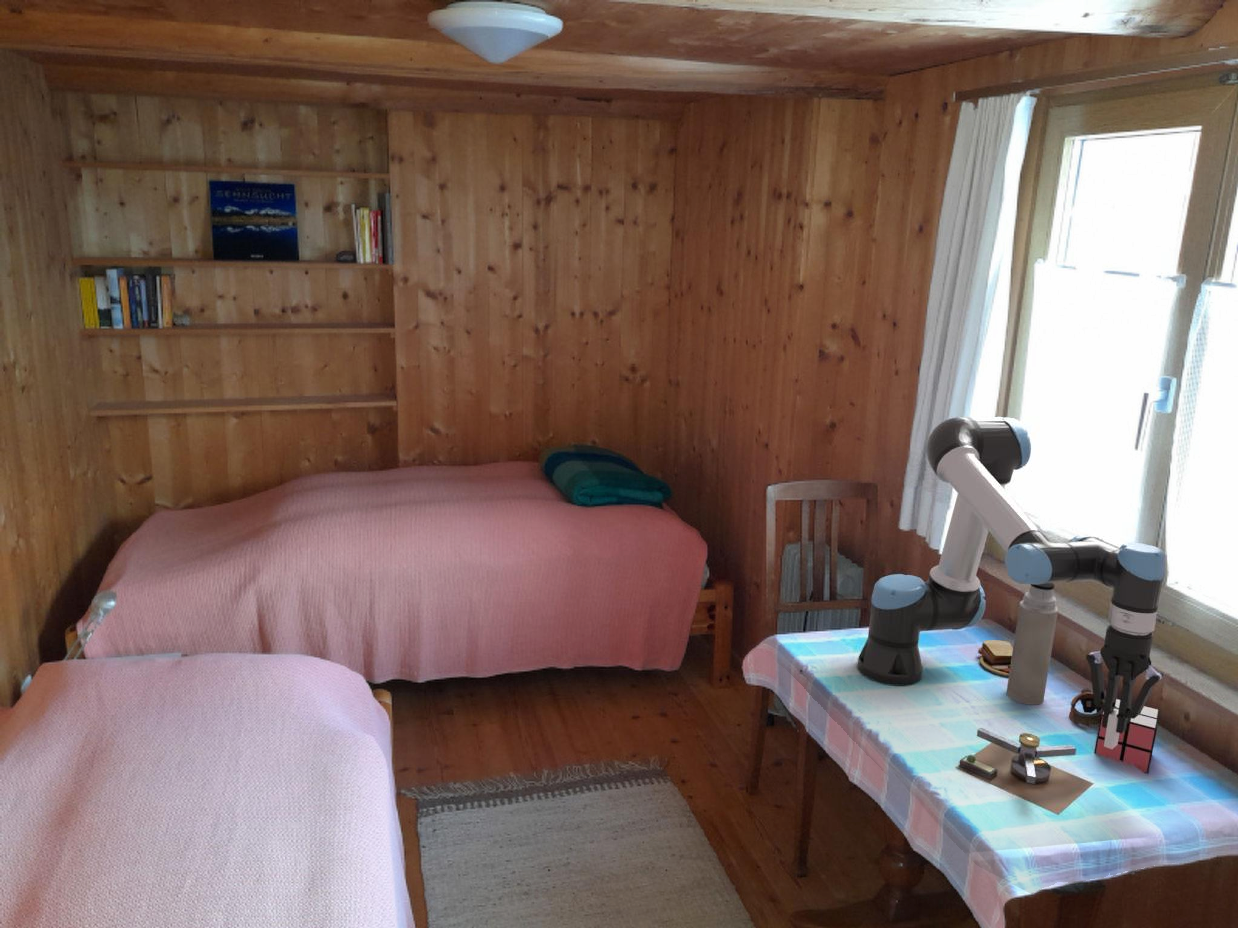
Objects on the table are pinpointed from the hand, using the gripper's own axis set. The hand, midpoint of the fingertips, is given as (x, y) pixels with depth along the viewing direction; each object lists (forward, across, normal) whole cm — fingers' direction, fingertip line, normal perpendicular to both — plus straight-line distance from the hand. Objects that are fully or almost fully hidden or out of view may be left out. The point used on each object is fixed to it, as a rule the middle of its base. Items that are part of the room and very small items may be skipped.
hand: (1110, 745), depth 179 cm
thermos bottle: (+10, -28, +28) cm, 41 cm away
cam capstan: (+9, -11, -6) cm, 15 cm away
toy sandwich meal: (+10, -39, +40) cm, 57 cm away
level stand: (+10, -12, -8) cm, 17 cm away
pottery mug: (+10, -13, +28) cm, 32 cm away
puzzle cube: (+10, -3, +18) cm, 21 cm away
